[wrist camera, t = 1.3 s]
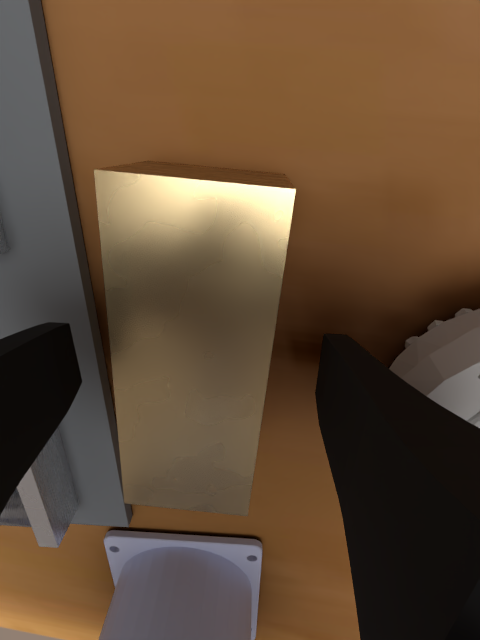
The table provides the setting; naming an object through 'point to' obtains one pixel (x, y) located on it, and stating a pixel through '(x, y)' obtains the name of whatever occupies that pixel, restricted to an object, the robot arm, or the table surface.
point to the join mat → (52, 255)
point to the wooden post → (191, 324)
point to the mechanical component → (446, 364)
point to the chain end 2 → (45, 496)
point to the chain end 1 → (3, 238)
